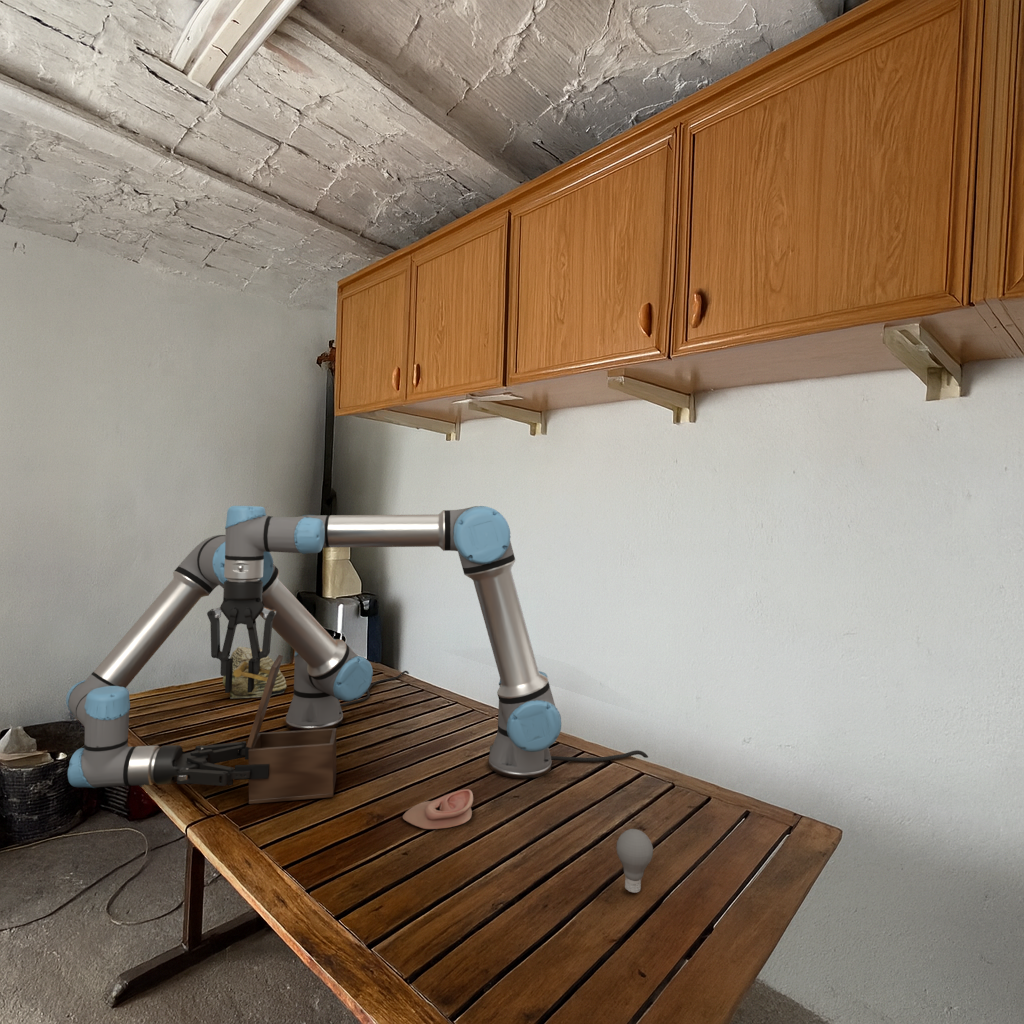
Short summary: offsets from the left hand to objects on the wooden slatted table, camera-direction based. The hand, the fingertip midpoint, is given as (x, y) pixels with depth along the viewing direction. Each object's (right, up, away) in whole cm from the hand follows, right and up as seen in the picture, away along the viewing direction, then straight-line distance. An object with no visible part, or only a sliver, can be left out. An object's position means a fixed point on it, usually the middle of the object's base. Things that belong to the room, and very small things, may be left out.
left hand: (272, 761), depth 135 cm
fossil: (-30, -4, +64) cm, 70 cm away
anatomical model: (+36, -9, -7) cm, 38 cm away
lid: (-1, +13, -1) cm, 13 cm away
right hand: (-6, +15, -2) cm, 17 cm away
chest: (+4, -7, +1) cm, 8 cm away
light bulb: (+71, -10, -29) cm, 77 cm away
